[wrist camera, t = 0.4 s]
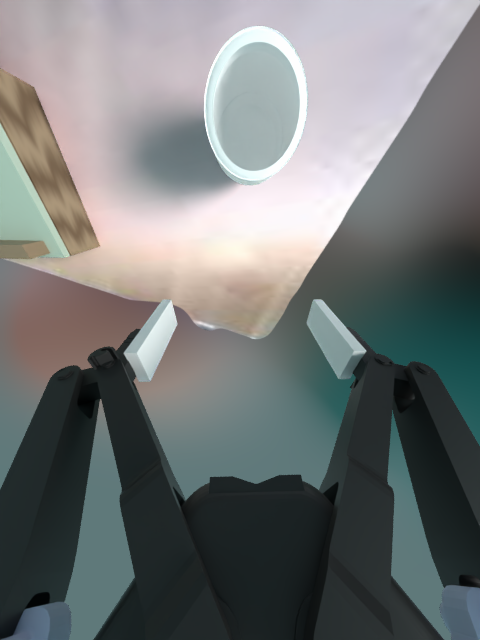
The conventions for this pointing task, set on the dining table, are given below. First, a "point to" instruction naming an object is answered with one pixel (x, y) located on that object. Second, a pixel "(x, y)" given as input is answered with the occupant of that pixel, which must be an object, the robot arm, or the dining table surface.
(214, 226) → the dining table surface
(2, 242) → the lid
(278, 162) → the jar
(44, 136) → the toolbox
